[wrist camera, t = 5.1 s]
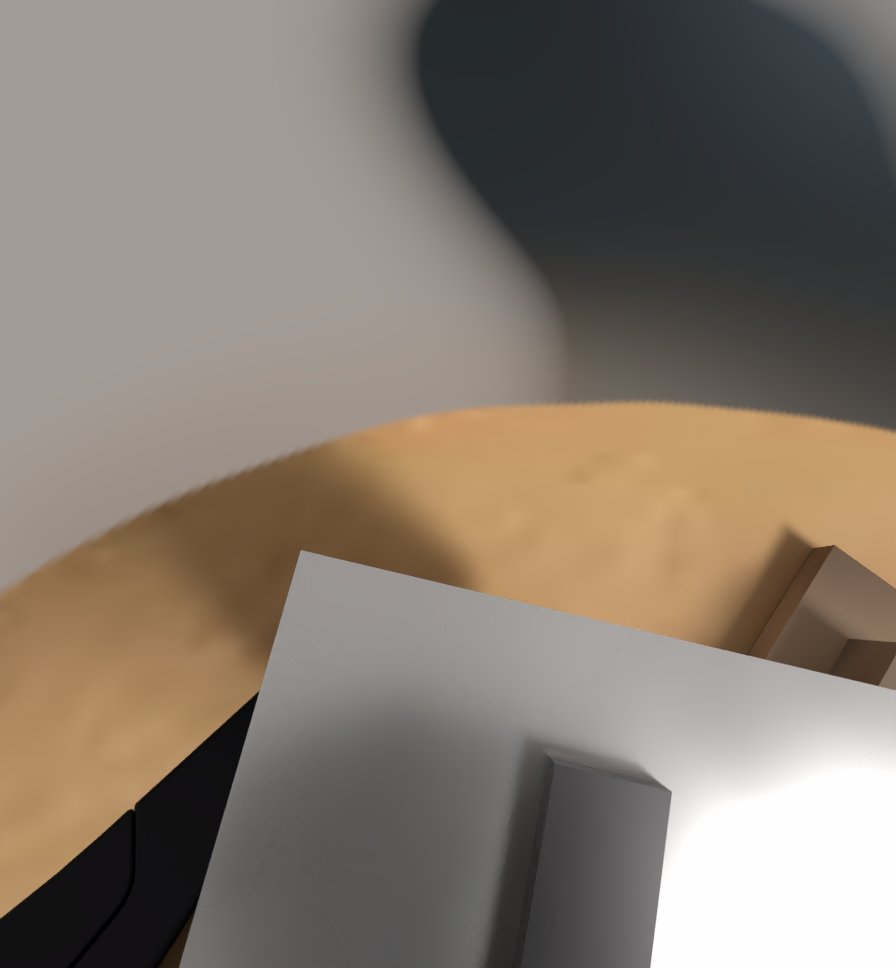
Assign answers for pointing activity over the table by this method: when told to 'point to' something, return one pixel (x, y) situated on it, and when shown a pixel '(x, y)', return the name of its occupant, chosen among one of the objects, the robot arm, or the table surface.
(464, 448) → the table surface
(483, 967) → the block
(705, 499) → the table surface
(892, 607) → the cradle
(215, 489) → the table surface
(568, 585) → the table surface
